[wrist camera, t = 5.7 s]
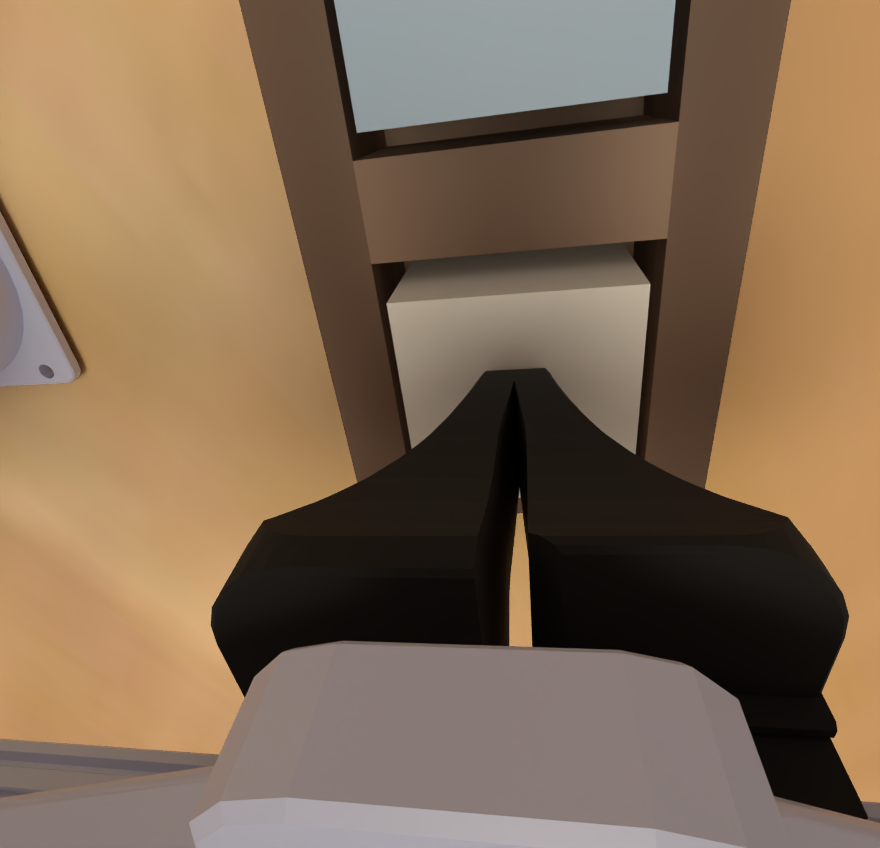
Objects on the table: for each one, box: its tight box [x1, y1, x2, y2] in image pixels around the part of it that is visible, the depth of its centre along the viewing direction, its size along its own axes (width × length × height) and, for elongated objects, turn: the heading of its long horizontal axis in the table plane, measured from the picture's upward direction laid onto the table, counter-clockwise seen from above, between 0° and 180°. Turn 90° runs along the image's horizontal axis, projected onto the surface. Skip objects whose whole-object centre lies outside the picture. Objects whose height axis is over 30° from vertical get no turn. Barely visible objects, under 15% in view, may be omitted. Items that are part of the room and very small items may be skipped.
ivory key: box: [386, 242, 650, 498], centre depth 13 cm, size 5×5×3 cm
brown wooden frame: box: [239, 0, 791, 513], centre depth 12 cm, size 9×16×4 cm, turn 7°
